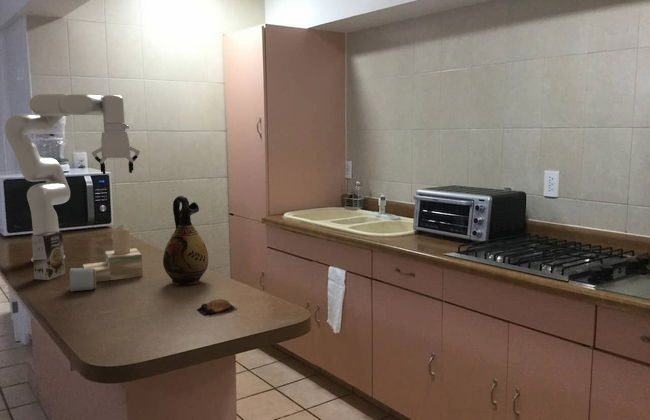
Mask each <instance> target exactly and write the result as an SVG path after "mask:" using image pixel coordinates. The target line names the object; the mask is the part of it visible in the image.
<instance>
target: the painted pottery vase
mask: <svg viewBox="0 0 650 420" xmlns="http://www.w3.org/2000/svg"><path fill="white" fill-rule="evenodd" d="M180 207H181V209H180ZM199 211H200V207H199V205H198V204H197V202H195V201H193V202H192V203H190V202H189V199H188V198H187V197H186V196H183V195H179V196H176V197H175V199H174V200H173V201H172V212H173V213H172V214H173V218H174V224H175V230H174V232H173V233H171V236H170V237H169V239H168V241H167V243H166V244H165V245H166V246H165V249H164V251H163V257H162V265H163V269H164V271H165V273H166V274H167V276H168V277H169V278H170V279H171V282H172V284H173V285H175V286H177V287H181V286H183V287H184V286H185V287H187V286H188V287H189V286H194V285H196V284H199V283H200V279H201V278H202V276H204V274H205V273H206V271H207V269H208V268H209V266H208V265H209V254H208V249H207V247H206V244H205V242H204V240H203V238H202V237H201V234H200V233H199V232H198V230H197V229H196V228H195V226H194V225H193V223H192V221H191V220H192V218H191V216H192V215H195V214H196V213H198V212H199Z"/></svg>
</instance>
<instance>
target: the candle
mask: <svg viewBox="0 0 650 420" xmlns="http://www.w3.org/2000/svg"><path fill="white" fill-rule="evenodd" d="M112 237H113V239H112V241H113V250H114V253H115V254H127V253H130V249H131V246H130V229H129V228H128V227H127V226H126V225H125V226H124V225H118V226H116V227H115V228H114V229H112Z"/></svg>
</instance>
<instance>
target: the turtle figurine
mask: <svg viewBox="0 0 650 420" xmlns="http://www.w3.org/2000/svg"><path fill="white" fill-rule="evenodd" d="M237 310H238V307H236V306H234V305H233V304H231V302H230V301H229V300H227V299H225V298H219V299H212V300H211V301H209V302H207V303H202V304H201V306H200V307H199V308H197V309H196V311H197V312H198V313H199V314H200V315H202V316H209V317H211V316H215V315H220V314H224V313H229V312H233V311H237Z"/></svg>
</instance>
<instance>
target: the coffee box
mask: <svg viewBox="0 0 650 420" xmlns="http://www.w3.org/2000/svg"><path fill="white" fill-rule="evenodd" d="M31 250H32V258H33V262H32V263H33V273H34V280H42V281H44V280H45V281H50V280H52V279H53V280H54V279H56V278H57V277H61V276H63V275H65V274H66V267H65V265H66V264H65V263H66V262H65V258H64V255H65V253H64V241H63V231H59V232H44V233H40V234H36V235H33V234H32V235H31Z"/></svg>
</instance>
